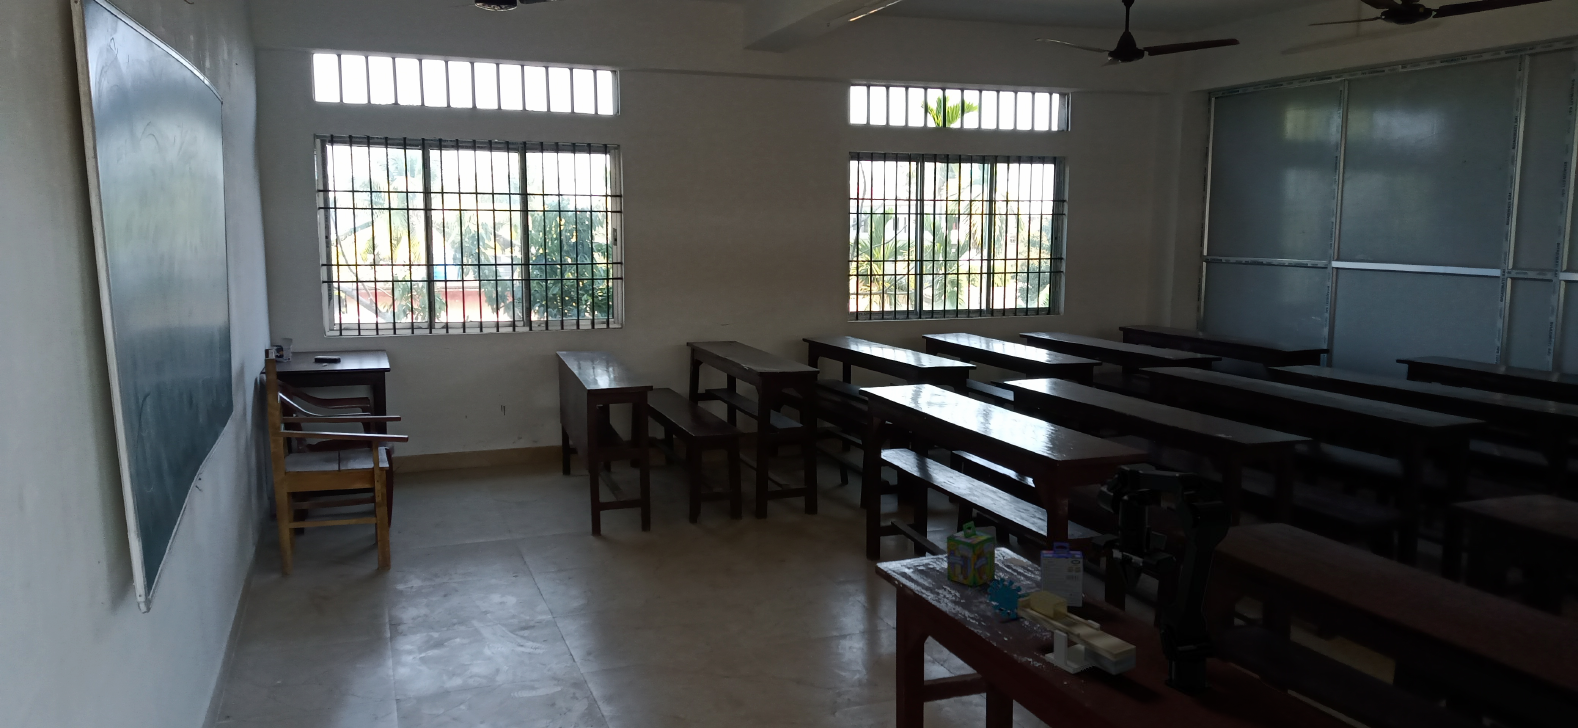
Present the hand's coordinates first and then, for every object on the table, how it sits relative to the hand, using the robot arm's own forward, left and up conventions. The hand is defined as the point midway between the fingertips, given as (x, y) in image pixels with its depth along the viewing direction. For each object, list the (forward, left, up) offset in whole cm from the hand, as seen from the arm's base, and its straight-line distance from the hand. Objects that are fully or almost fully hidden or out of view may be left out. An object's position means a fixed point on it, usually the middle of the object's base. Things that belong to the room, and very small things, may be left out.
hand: (1131, 590), depth 223 cm
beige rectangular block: (+9, +16, -5) cm, 19 cm away
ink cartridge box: (+25, -4, -12) cm, 28 cm away
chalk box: (+49, +4, -12) cm, 51 cm away
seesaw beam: (+1, +16, -9) cm, 19 cm away
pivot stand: (0, +16, -12) cm, 20 cm away
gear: (+27, +11, -12) cm, 32 cm away
